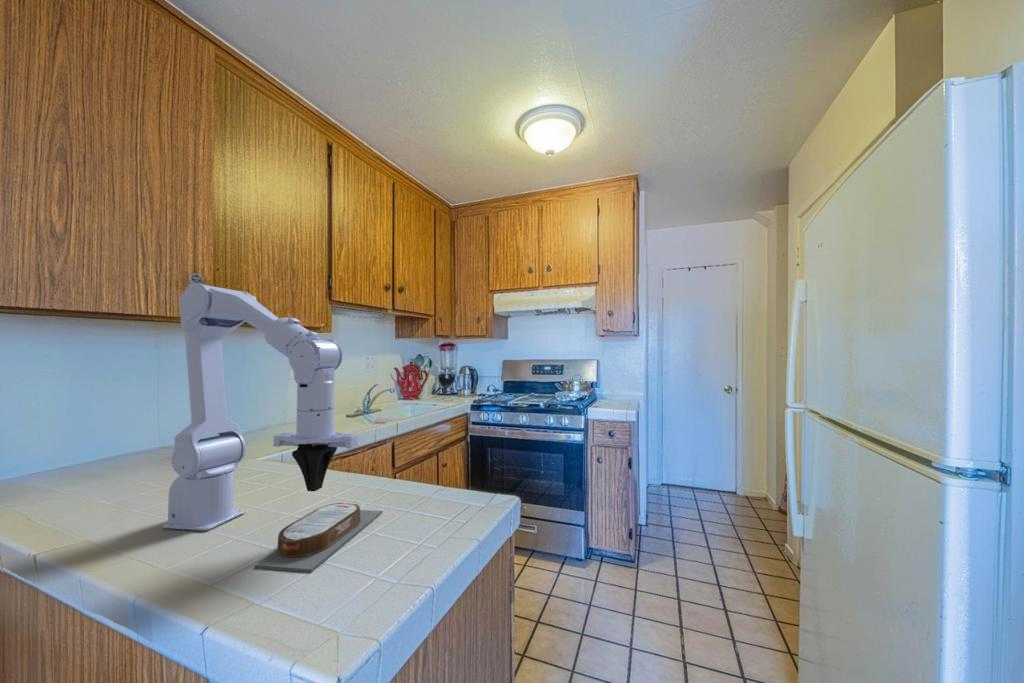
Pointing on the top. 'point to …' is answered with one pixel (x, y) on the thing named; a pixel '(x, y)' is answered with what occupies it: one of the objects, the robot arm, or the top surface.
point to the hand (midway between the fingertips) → (314, 489)
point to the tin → (318, 530)
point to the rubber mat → (318, 558)
